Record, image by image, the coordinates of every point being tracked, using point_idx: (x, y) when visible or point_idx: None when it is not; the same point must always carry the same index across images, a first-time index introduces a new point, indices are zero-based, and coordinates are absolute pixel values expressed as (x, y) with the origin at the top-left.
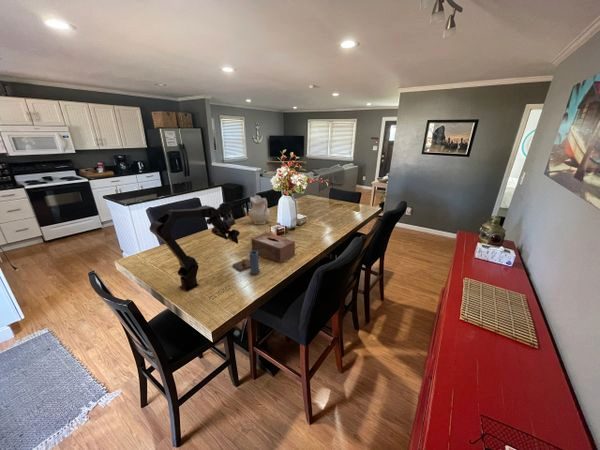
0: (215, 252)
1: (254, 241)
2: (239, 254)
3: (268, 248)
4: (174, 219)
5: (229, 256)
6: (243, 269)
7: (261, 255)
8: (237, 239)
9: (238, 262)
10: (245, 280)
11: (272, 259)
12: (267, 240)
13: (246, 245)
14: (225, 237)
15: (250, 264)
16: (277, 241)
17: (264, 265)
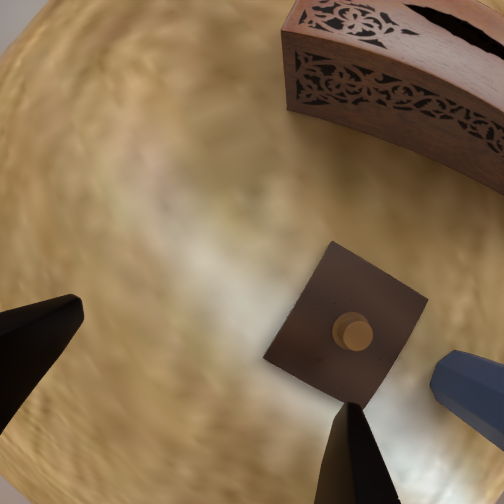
0: (59, 213)
1: (327, 54)
2: (215, 173)
3: (489, 133)
4: None
5: (159, 228)
6: (376, 386)
7: (385, 139)
8: (387, 479)
9: (294, 320)
10: (425, 463)
11: (479, 180)
12: (450, 44)
13: (198, 56)
14: (44, 346)
15: (470, 425)
16: (426, 12)
17: (471, 268)
